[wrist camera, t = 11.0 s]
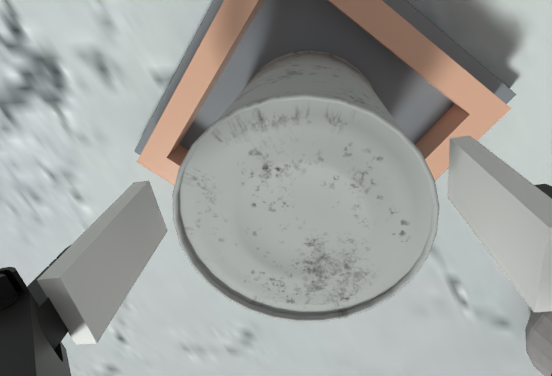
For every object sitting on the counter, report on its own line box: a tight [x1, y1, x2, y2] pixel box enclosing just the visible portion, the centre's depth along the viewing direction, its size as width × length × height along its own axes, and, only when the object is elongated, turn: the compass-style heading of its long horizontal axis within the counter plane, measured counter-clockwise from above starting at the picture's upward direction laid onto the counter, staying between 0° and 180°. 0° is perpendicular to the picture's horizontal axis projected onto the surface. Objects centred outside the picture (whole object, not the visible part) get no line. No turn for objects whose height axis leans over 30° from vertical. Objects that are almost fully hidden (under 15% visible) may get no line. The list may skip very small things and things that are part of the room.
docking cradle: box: [135, 0, 516, 186], centre depth 23 cm, size 18×18×4 cm
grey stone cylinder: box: [173, 50, 439, 322], centre depth 18 cm, size 10×10×12 cm
